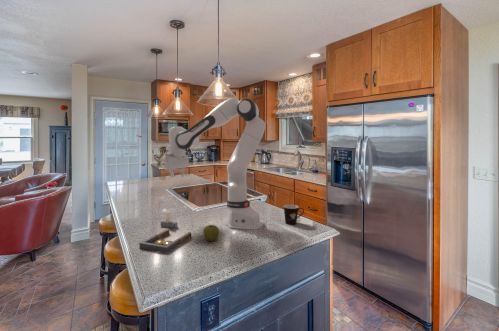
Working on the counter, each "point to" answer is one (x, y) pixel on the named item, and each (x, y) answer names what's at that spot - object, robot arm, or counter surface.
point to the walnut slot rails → (182, 239)
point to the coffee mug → (291, 214)
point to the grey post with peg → (169, 221)
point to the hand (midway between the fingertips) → (177, 175)
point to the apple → (211, 232)
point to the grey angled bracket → (155, 247)
